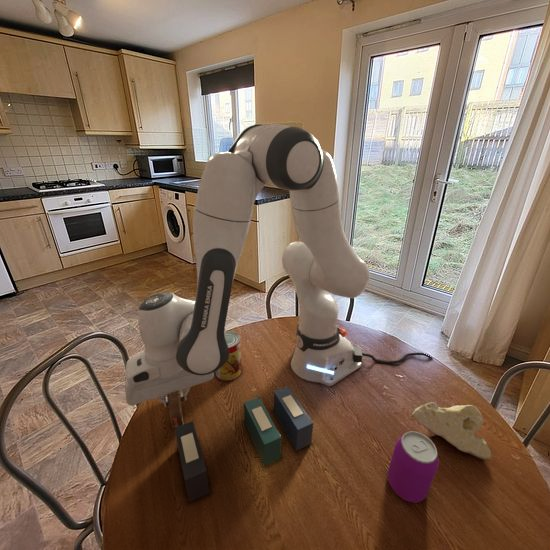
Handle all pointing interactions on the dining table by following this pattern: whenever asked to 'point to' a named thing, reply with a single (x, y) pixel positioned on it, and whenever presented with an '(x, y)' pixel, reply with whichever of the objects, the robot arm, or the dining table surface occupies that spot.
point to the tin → (175, 409)
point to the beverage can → (413, 466)
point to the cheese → (454, 426)
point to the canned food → (231, 358)
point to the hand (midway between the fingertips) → (175, 401)
